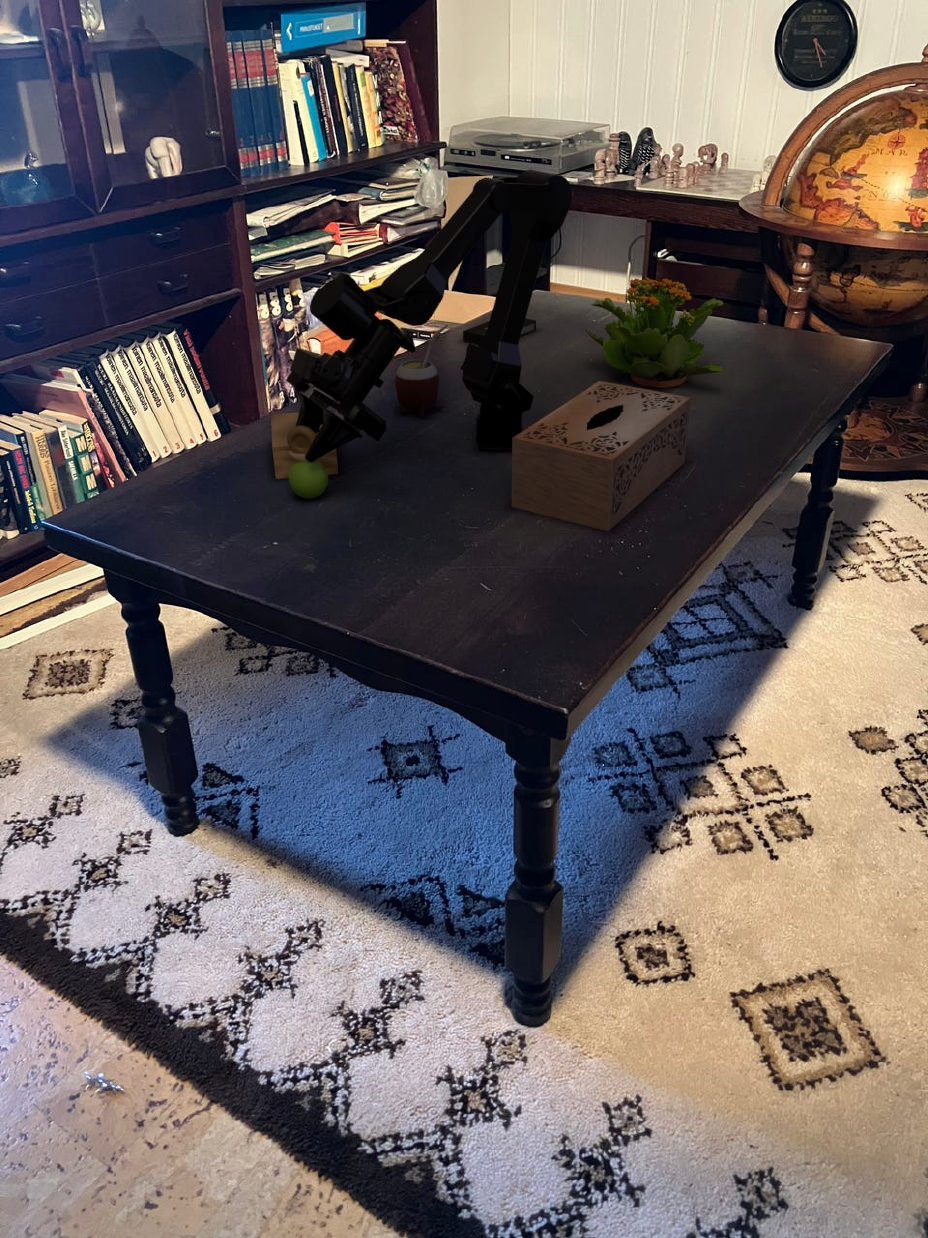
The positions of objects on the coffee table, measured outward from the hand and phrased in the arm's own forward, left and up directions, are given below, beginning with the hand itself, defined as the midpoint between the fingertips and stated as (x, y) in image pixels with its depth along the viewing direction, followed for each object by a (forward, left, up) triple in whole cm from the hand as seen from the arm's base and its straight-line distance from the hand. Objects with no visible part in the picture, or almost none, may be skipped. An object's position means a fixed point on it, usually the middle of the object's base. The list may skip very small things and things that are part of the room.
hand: (299, 454), depth 142 cm
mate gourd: (-12, -34, -7) cm, 37 cm away
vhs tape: (-23, -77, -7) cm, 81 cm away
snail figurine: (-1, -1, -7) cm, 7 cm away
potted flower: (-52, -51, -7) cm, 73 cm away
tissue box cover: (-41, -7, -7) cm, 42 cm away
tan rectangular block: (+3, -14, -7) cm, 16 cm away
